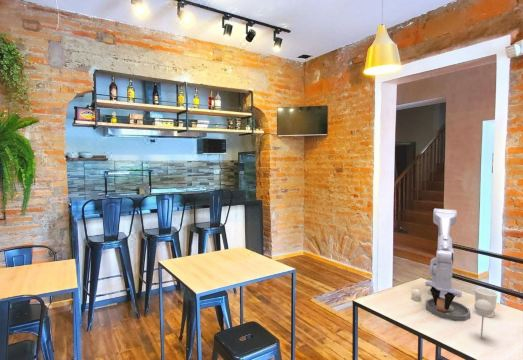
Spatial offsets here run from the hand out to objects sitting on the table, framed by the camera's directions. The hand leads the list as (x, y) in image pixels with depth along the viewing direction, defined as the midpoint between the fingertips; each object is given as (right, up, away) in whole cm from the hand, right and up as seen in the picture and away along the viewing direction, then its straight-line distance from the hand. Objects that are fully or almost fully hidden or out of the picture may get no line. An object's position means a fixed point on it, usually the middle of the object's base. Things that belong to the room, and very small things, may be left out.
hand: (441, 306), depth 139 cm
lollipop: (+5, -5, -18) cm, 19 cm away
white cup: (+20, -4, +1) cm, 20 cm away
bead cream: (-4, -2, +14) cm, 15 cm away
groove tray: (+4, -3, +3) cm, 6 cm away
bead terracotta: (0, -2, 0) cm, 2 cm away
